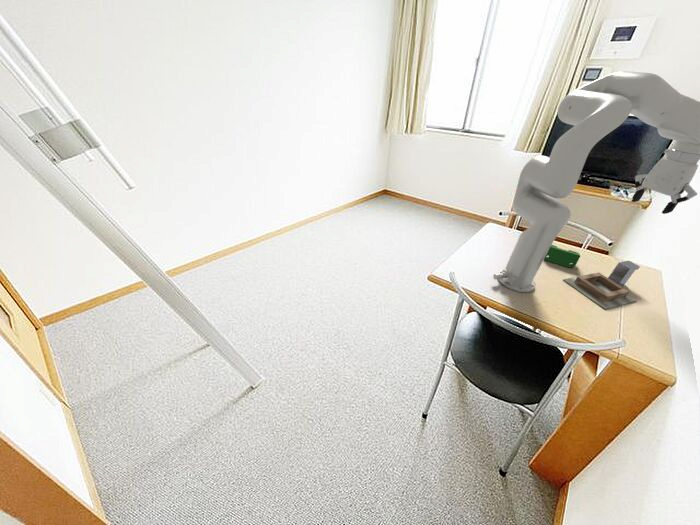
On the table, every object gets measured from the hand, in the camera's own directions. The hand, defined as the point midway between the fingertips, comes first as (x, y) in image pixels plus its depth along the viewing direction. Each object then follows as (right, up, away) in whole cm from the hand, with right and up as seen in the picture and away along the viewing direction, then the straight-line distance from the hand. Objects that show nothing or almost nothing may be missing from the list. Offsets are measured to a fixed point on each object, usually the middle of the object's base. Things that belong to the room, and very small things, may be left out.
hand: (649, 207), depth 105 cm
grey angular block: (-4, -27, +9) cm, 28 cm away
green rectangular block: (-19, -19, +19) cm, 33 cm away
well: (-15, -29, +4) cm, 33 cm away
